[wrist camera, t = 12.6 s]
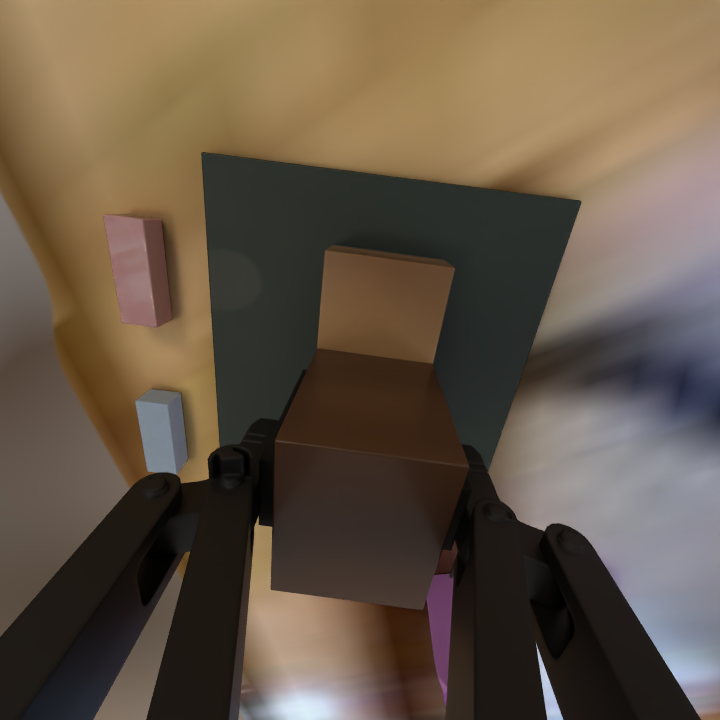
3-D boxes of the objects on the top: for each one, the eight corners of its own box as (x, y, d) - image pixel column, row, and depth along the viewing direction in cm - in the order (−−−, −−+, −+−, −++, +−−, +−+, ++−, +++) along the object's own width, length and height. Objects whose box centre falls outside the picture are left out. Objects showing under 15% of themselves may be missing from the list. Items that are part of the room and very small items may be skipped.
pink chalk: (124, 213, 16) (101, 213, 15) (162, 218, 16) (143, 219, 15) (139, 315, 18) (121, 323, 17) (173, 320, 18) (157, 328, 17)
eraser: (333, 243, 15) (278, 281, 7) (443, 259, 15) (520, 314, 7) (312, 482, 21) (268, 658, 13) (392, 492, 21) (401, 676, 13)
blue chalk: (150, 388, 20) (134, 400, 18) (181, 392, 20) (167, 404, 18) (160, 456, 22) (147, 471, 20) (188, 459, 22) (176, 475, 20)
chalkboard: (209, 154, 15) (200, 151, 14) (573, 201, 15) (582, 200, 14) (227, 496, 23) (222, 505, 22) (463, 526, 23) (465, 536, 22)
